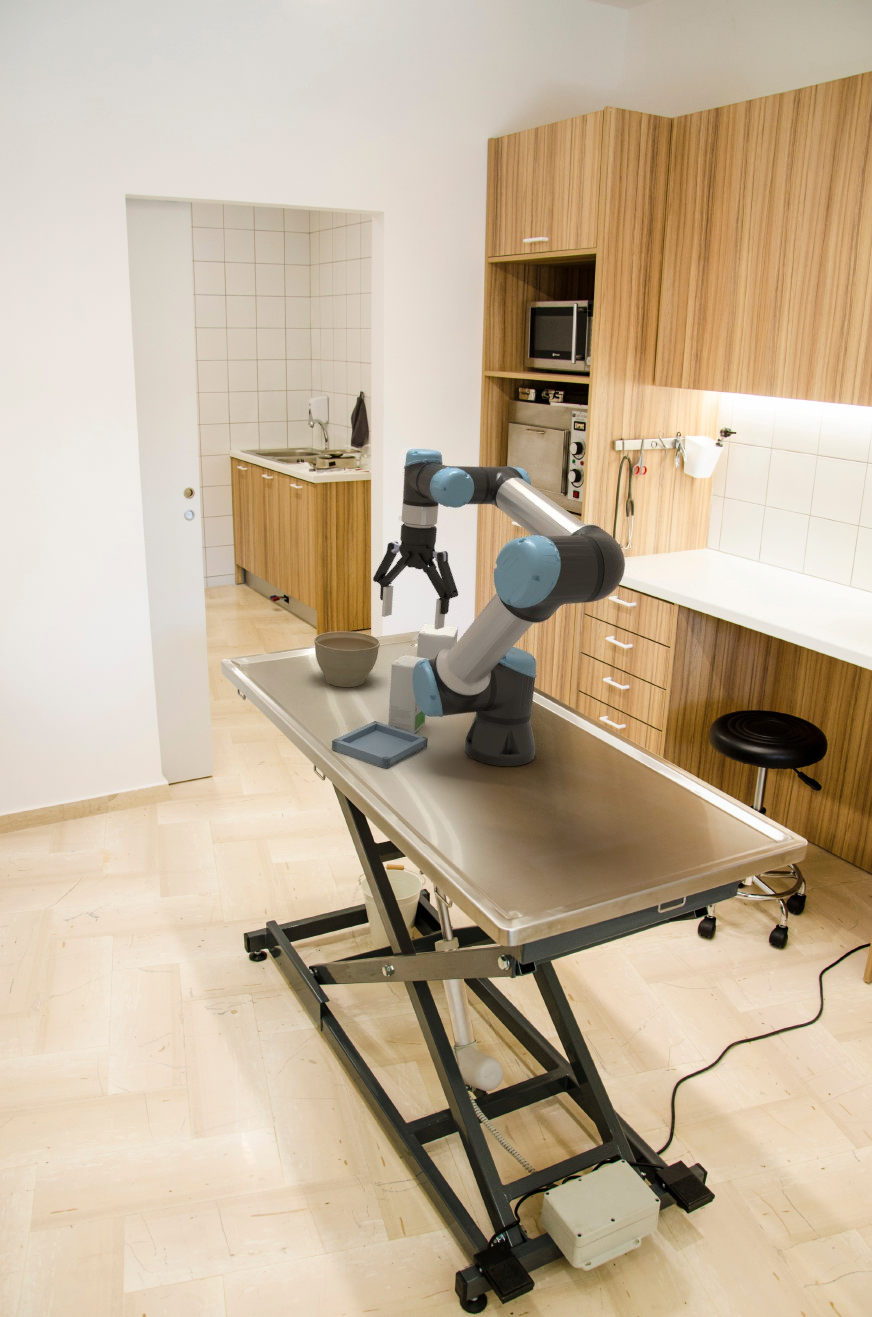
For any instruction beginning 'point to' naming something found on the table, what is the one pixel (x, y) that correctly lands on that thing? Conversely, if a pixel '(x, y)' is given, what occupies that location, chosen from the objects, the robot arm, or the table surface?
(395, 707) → the skincare box
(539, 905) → the table surface
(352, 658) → the planter bowl
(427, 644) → the supplement box
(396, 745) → the tray
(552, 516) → the robot arm
